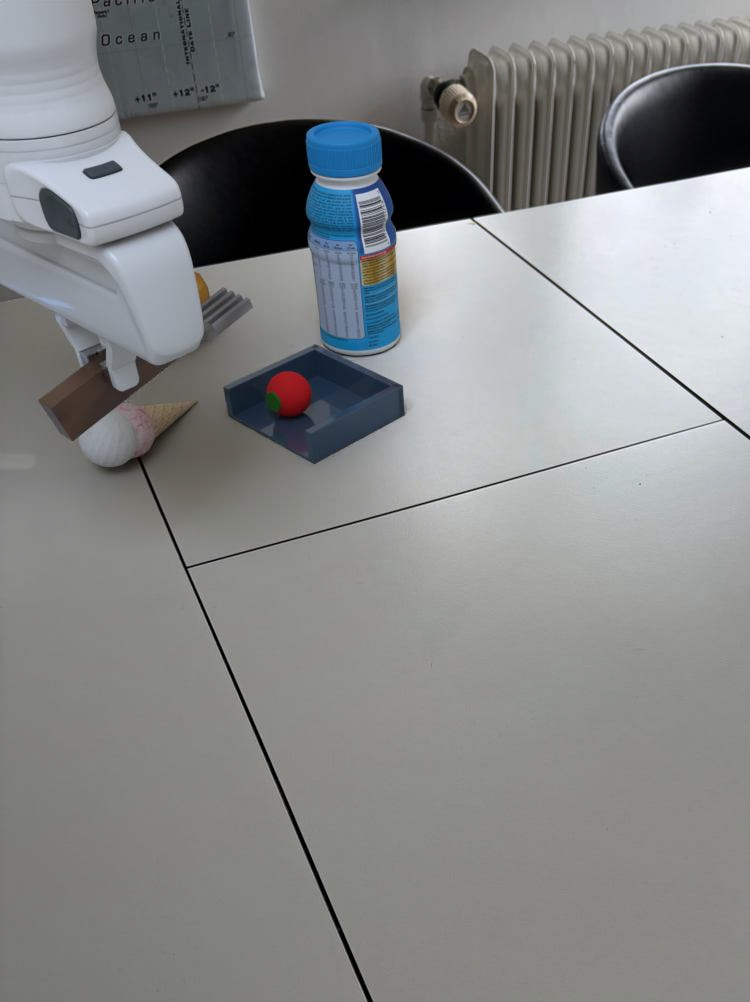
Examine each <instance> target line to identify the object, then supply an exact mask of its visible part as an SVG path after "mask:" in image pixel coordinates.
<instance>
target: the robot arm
mask: <svg viewBox="0 0 750 1002" xmlns="http://www.w3.org/2000/svg"><path fill="white" fill-rule="evenodd" d="M97 37H98V27H97V20H96V15H95V10H94V6H93V3H92V0H0V285H1V286H3V287H5V288H7V289H8V290H11V291H12V292H15V293H17V294H18V295H20V296H23V297H24V298H26V299H28V300H30V301H32V302H34V303H36V304H38V305H39V306H41V307H43V308H45V309H47V310H50V312H53V313H54V317H55V320H56V323H57V324H58V326H59V327H60V329H61V331H62V332H63V334H64V335H65V337H66V339H67V340H68V342H69V343H70V345H71V346H72V348H73V349H74V351H75V354H76V358H77V362H78V364H79V369H80V368H81V367H83V366H84V365H85V364H87V363H88V362H89V361H91V360H92V359H93V358H95V357H96V356H97V355H98V354H100V353H101V352H103V351H104V350H105V349H106V360H105V361H103V362H101V363H100V366H101V369H102V372H103V374H104V379H105V382H106V383H107V384H108V385H110V386H112V387H113V388H115V389H117V390H119V391H125V390H127V389H130V388H132V387H134V386H136V385H137V384H138V382H139V375H138V371H137V367H136V363H135V360H136V356H138V357H140V358H142V359H144V360H146V361H148V362H149V363H151V364H154V365H162V364H165V363H168V362H170V361H173V360H175V359H177V358H178V359H179V358H181V357H184V356H186V355H188V354H190V353H193V352H194V351H196V350H197V349H198V348H199V347H200V344H201V343H202V340H203V339H202V337H203V334H204V324H203V316H202V310H201V304H200V298H199V293H198V287H197V282H196V277H195V273H194V271H195V269H194V265H193V260H192V256H191V252H190V249H189V246H188V244H187V242H186V238H185V236H184V235H183V233H182V232H181V230H180V228H179V227H178V226H177V225H176V223H175V222H173V220H175V219H177V218H179V217H181V216H182V215H183V214H184V210H185V209H184V201H183V200H184V199H183V196H182V192H181V189H180V186H179V183H177V181H176V179H174V178H173V177H172V176H171V175H170V174H169V173H168V172H167V171H165V170H164V169H163V168H162V167H160V166H159V165H158V164H157V163H156V162H155V161H154V160H153V159H152V158H150V157H149V156H148V154H146V153H145V152H144V151H143V149H141V148H140V146H139V145H138V144H137V143H136V141H135V140H134V139H133V137H132V136H131V135H130V134H129V133H128V132H126V131H125V130H122V128H121V123H120V120H119V119H120V118H119V114H118V110H117V106H116V102H115V99H114V96H113V94H112V92H111V90H110V88H109V86H108V84H107V82H106V80H105V78H104V76H103V74H102V70H101V68H100V64H99V59H98V58H99V57H98V52H97V40H98V39H97ZM178 359H177V360H178Z"/></svg>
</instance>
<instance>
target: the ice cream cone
mask: <svg viewBox="0 0 750 1002" xmlns="http://www.w3.org/2000/svg"><path fill="white" fill-rule="evenodd" d="M196 403H198V400H187V401H178V402H169V403H168V402H167V403H157V404H147V405H136V404H134V403H130V402H122V403H121V404H120V405H118V406H117V407H116V408H115V409H113V410H112V411H111V412H110V413H108V414H107V415H106V416H104V417H103V418H102V419H101V420H99V421H98V422H97V423H96V424H94V425H93V426H92V427H90V428H89V429H88V430H87V431H85V432H84V433H83V434H82V435H80V436H79V437H78V444H79V447H80V450H81V452H82V453H83V454H84V456H85V457H86V458H87V459H88V460H89V461H91V462H92V463H94V464H95V465H98V466H100V467H104V468H115V467H118V466H123V465H124V464H125V463H127V462H128V461H130V460H131V459H136V458H139V457H141V456H143V455H144V454H146V453H147V452H148V451H150V449H151V448H152V446H153V445H154V441H155V439H156V438H157V437H158V436H160V435H161V434H162V433H163V432H164V431H165V430H166V429H168V428H169V427H170V426H171V425H172V424H174V422H176V421H177V420H178V419H179V418H180V417H181V416H183V415H184V414H185V413H186V412H187V411H189V409H191V408H192V407H193V406H195V404H196Z"/></svg>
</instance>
